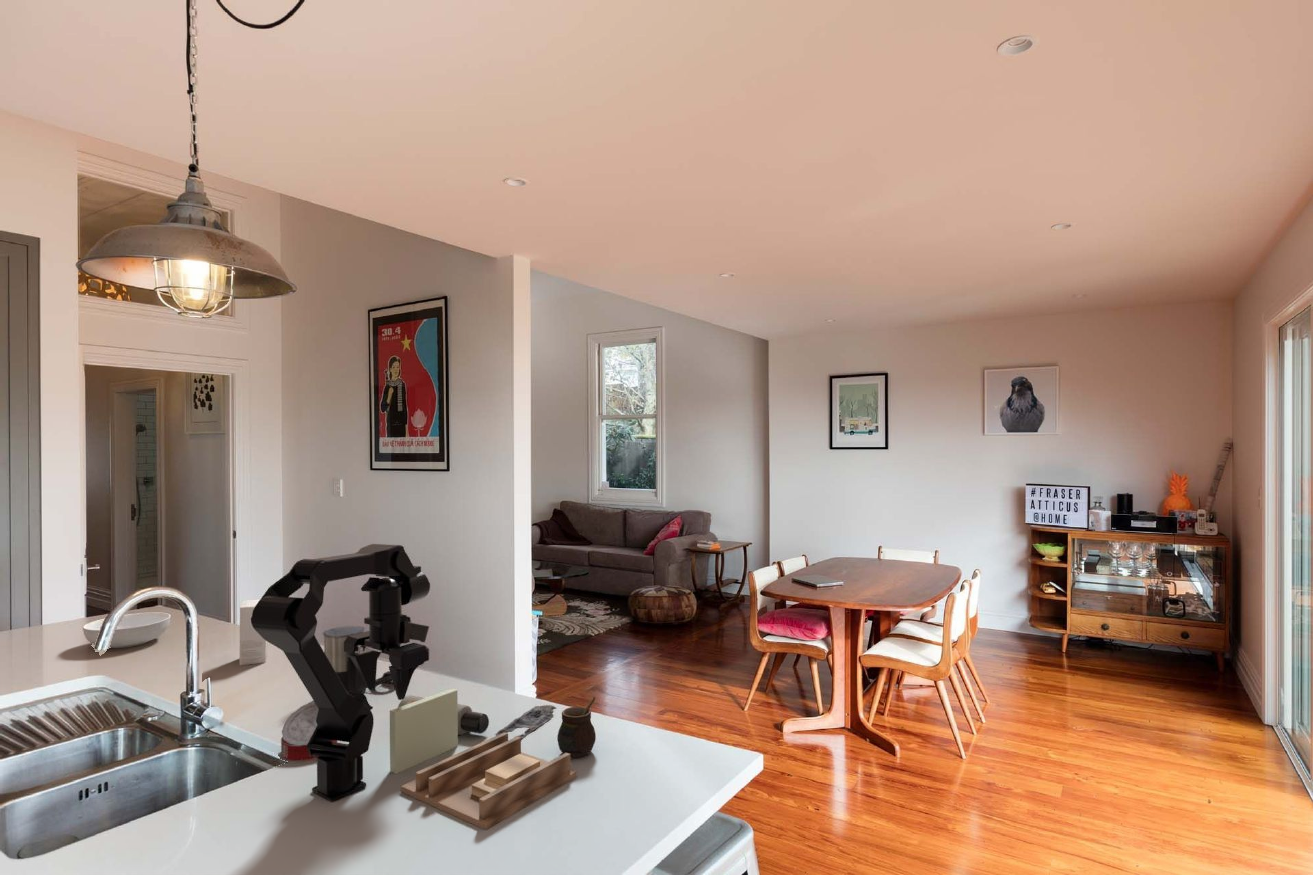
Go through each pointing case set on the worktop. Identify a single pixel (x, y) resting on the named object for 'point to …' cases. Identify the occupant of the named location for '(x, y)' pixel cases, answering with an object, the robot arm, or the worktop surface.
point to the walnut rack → (456, 774)
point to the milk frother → (346, 659)
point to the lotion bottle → (460, 717)
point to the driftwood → (530, 720)
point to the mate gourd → (576, 731)
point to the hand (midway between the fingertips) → (386, 694)
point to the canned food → (299, 733)
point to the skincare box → (250, 637)
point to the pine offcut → (484, 788)
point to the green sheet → (423, 730)
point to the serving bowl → (132, 629)
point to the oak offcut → (511, 769)
